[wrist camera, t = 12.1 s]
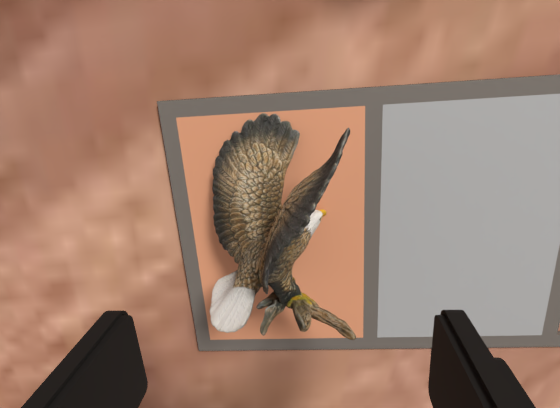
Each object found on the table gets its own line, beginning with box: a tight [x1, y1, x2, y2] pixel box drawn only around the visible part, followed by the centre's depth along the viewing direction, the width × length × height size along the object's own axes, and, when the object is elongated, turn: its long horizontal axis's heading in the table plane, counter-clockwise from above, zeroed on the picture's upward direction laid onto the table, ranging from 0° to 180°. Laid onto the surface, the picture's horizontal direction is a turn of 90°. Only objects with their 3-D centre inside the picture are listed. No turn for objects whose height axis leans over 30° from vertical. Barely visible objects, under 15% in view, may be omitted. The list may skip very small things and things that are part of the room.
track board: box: [157, 75, 560, 351], centre depth 19 cm, size 30×15×1 cm, turn 94°
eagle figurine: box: [210, 113, 356, 340], centre depth 16 cm, size 8×7×9 cm
